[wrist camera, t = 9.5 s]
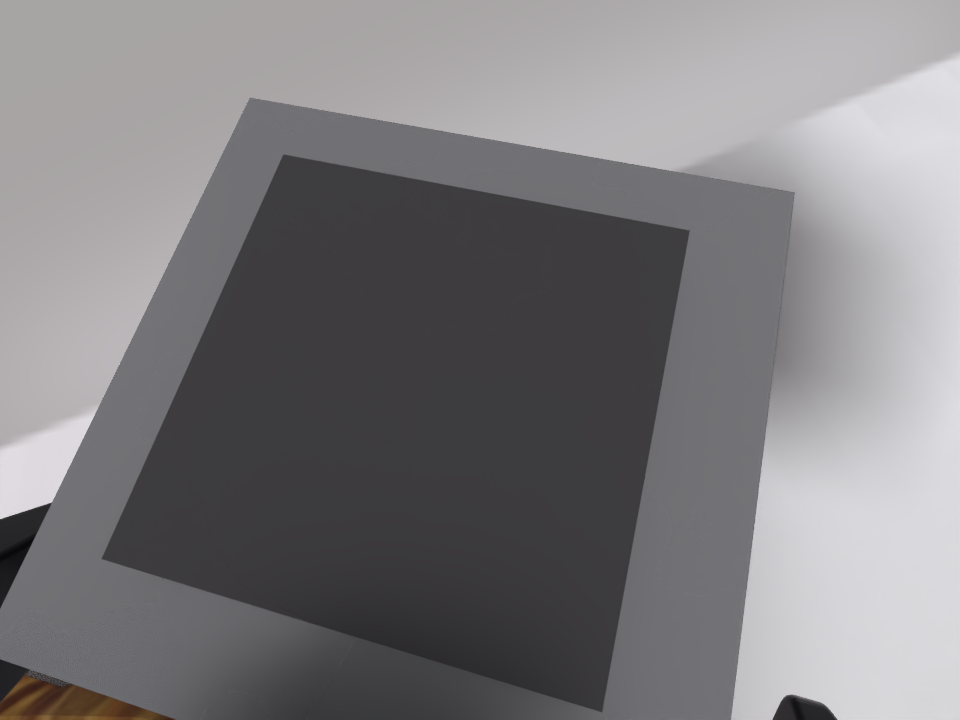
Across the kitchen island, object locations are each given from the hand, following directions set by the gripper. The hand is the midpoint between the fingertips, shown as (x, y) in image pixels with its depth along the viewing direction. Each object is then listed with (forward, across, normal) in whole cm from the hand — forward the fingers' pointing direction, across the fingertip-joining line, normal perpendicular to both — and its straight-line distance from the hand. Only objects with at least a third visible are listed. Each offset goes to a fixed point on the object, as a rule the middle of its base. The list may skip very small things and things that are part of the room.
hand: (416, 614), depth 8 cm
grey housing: (+8, 0, +5) cm, 9 cm away
